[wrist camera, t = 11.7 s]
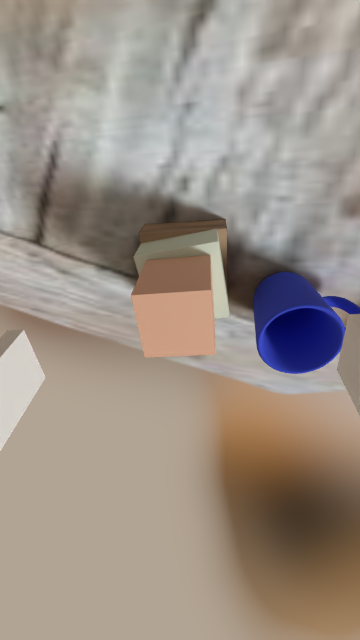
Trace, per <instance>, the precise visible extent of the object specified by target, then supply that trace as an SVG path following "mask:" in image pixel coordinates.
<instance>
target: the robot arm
mask: <svg viewBox="0 0 360 640" xmlns="http://www.w3.org/2000/svg"><path fill="white" fill-rule="evenodd" d="M337 370H338V372H339V374H340V376H341V378H342V381H343V383H344V385H345V387H346V389H347V391H348V392H349V395H350V397H351V399H352V401H353V403H354V405H355V407H356V409H357V411H358V413H359V415H360V314H349V315H348V320H347V325H346V330H345V334H344V339H343V344H342V348H341V353H340V358H339V363H338V367H337ZM44 379H45V376H44V373H43V371H42V369H41V367H40V364H39V362H38V360H37V358H36V356H35V353H34V351H33V349H32V347H31V345H30V342H29V340H28V338H27V336H26V334H25V331H24V330H10V331H7V332H5V334H4V335H3V336H2V337H1V338H0V450H1V449H2V447H3V446H4V444H5V442H6V441H7V439H8V438H9V436H10V434H11V433H12V431H13V429H14V427H15V426H16V425H17V423H18V421H19V420H20V418H21V416H22V415H23V413H24V412H25V410H26V408H27V407H28V404H29V403H30V402H31V400H32V398H33V397H34V395H35V394H36V392H37V390H38V389H39V387H40V385H41V384H42V382H43V380H44Z"/></svg>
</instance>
